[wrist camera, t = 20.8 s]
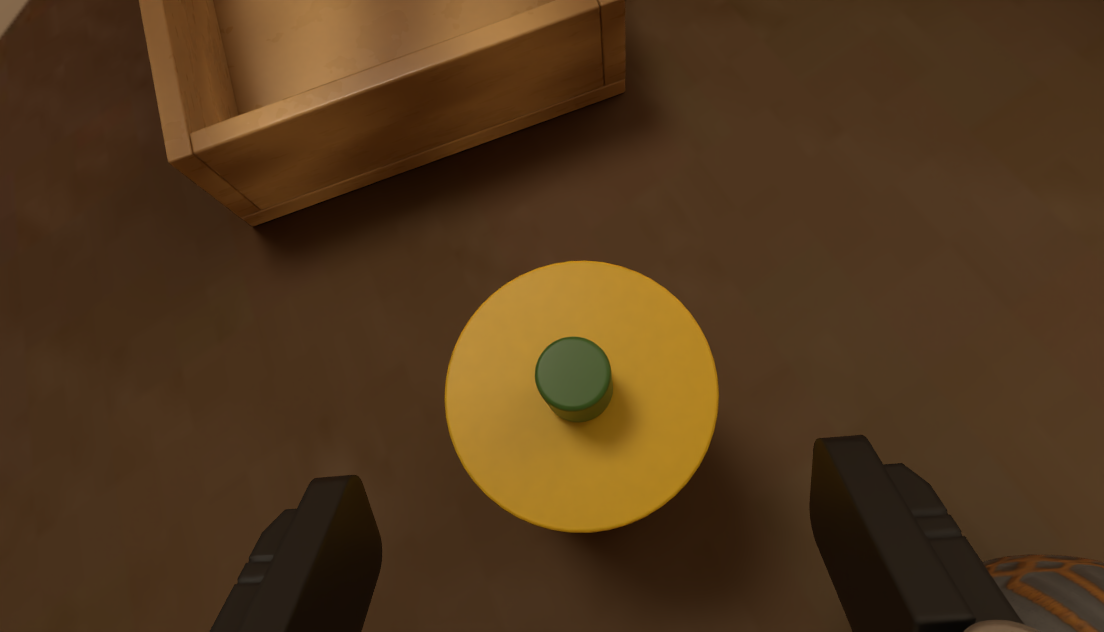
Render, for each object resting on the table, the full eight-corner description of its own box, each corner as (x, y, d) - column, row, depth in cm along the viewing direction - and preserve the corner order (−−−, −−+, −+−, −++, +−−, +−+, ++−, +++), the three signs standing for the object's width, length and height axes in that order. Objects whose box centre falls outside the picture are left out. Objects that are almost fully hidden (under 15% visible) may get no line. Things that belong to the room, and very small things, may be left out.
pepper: (540, 552, 21) (470, 581, 11) (487, 381, 22) (388, 287, 13) (714, 490, 20) (783, 470, 11) (647, 324, 22) (661, 189, 13)
